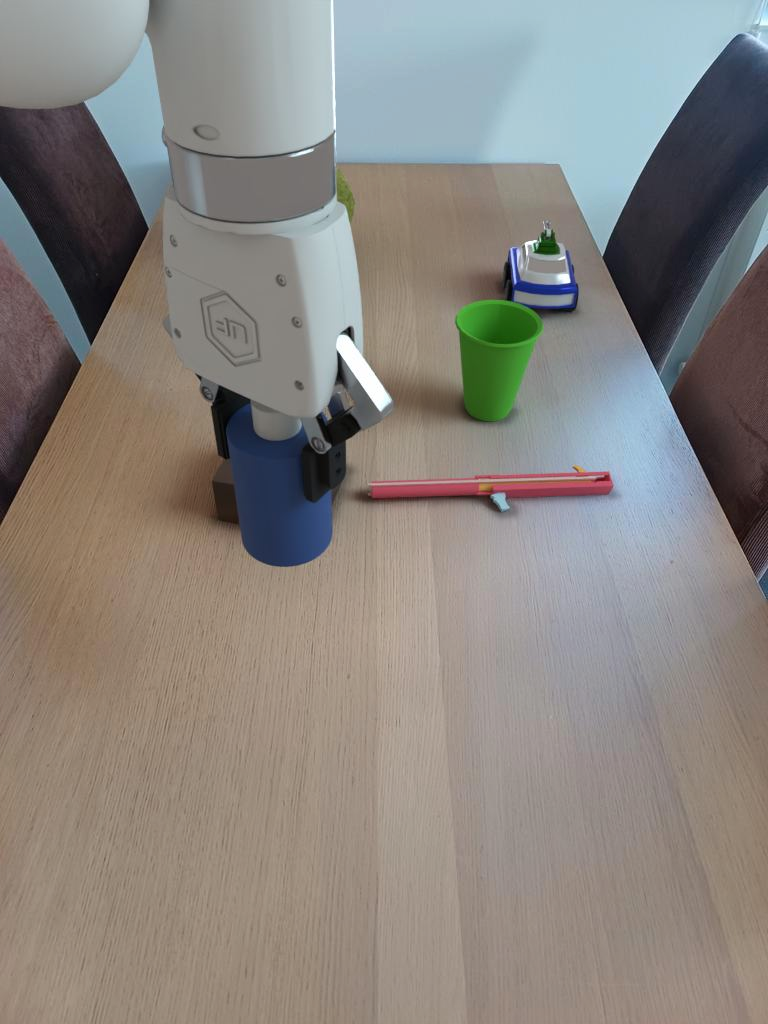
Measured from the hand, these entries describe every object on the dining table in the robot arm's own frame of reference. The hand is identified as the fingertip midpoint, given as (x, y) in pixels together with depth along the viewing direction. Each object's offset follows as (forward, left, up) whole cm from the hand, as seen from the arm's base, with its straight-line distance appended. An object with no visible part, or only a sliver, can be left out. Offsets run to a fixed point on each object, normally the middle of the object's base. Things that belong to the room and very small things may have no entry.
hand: (281, 465), depth 49 cm
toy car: (+66, +10, -22) cm, 70 cm away
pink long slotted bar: (+27, -3, -22) cm, 35 cm away
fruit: (+58, +44, -22) cm, 76 cm away
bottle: (0, 0, -6) cm, 6 cm away
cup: (+40, +4, -22) cm, 45 cm away
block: (+16, +14, -22) cm, 30 cm away
